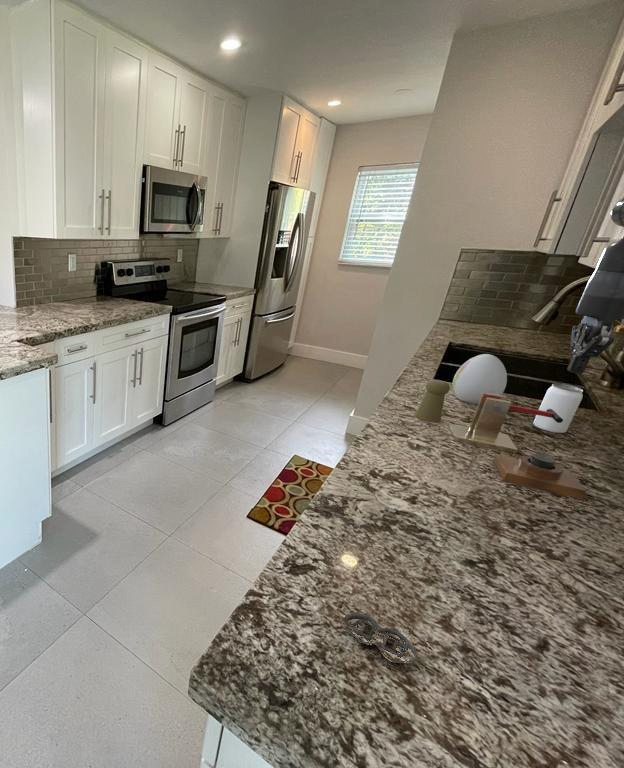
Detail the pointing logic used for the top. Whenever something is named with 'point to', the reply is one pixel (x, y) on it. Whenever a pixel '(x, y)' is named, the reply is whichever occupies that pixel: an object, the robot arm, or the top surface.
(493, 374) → the decorative egg
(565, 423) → the can
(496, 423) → the brass bookend
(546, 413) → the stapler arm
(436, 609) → the top surface
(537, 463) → the button
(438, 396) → the olive pepper shaker
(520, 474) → the button block
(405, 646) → the corroded twin loop
